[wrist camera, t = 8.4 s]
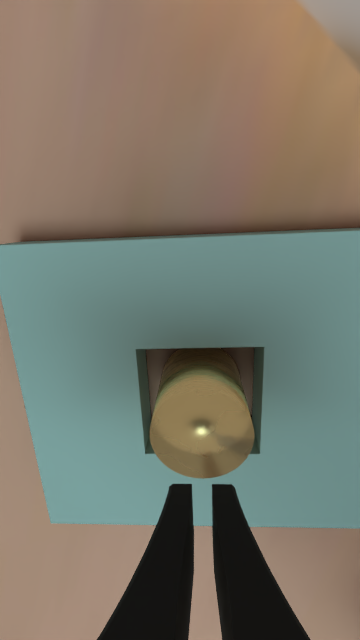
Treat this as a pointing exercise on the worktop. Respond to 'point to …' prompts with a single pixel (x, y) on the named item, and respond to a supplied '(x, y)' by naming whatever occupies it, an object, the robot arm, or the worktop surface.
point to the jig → (190, 332)
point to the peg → (201, 414)
